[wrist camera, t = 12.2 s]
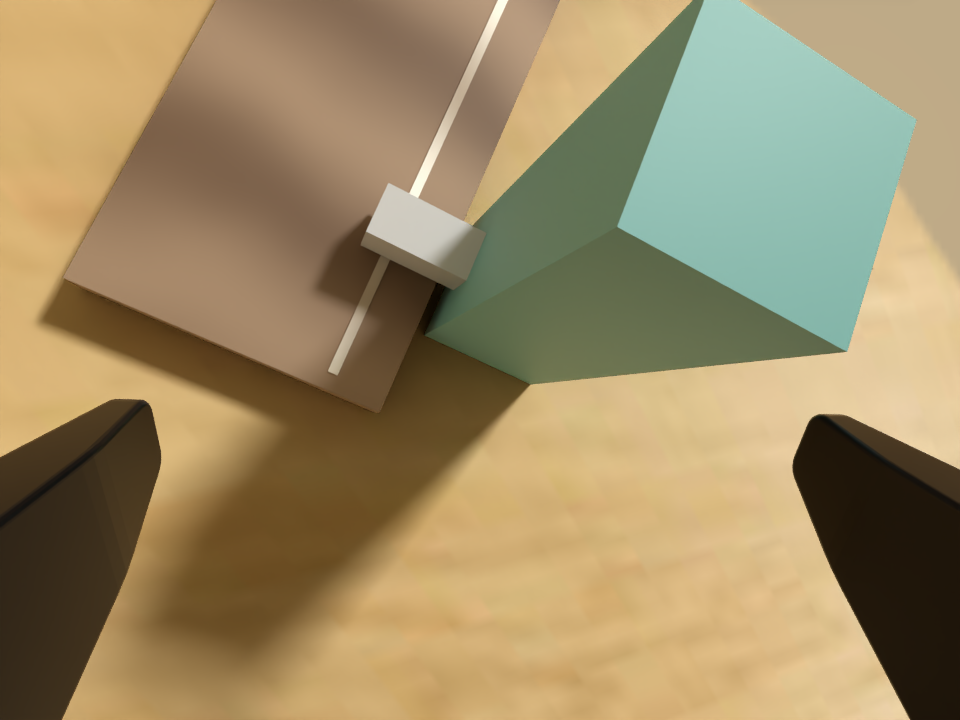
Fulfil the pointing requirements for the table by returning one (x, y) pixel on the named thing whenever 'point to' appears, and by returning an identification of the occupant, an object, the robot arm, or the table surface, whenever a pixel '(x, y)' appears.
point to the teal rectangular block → (673, 215)
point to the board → (308, 176)
